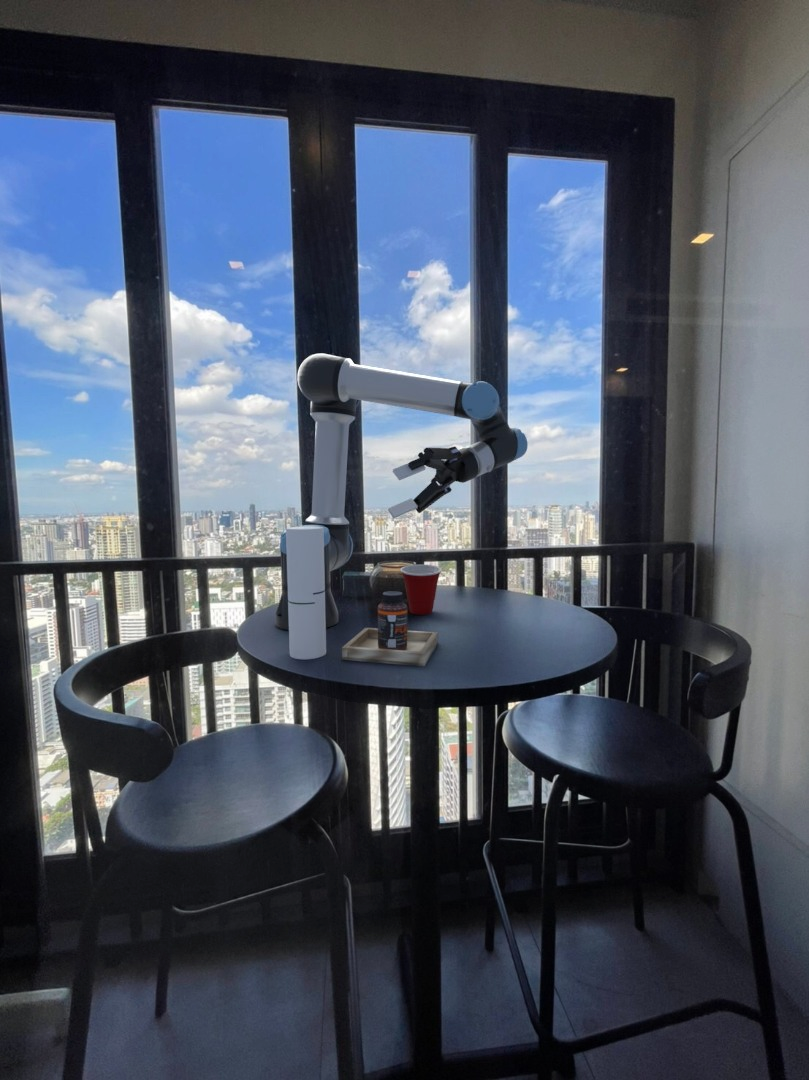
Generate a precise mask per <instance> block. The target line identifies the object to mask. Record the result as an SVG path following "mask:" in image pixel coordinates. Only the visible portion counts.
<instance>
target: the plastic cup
mask: <svg viewBox="0 0 809 1080" xmlns="http://www.w3.org/2000/svg"><path fill="white" fill-rule="evenodd" d="M400 572H401V573H402V577H403V581H404V585H405V592H406V596H407V601H408V609H409V612H410V614H412V615H416V616H417V615H418V616H426V615H431V614H432V613H433V610H434V604H435V599H436V593H437V589H438V582H439V578H440V574H441V572H442V567H440V566H437V565H432V564H411V565H405V566H403V567H401V568H400Z"/></svg>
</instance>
